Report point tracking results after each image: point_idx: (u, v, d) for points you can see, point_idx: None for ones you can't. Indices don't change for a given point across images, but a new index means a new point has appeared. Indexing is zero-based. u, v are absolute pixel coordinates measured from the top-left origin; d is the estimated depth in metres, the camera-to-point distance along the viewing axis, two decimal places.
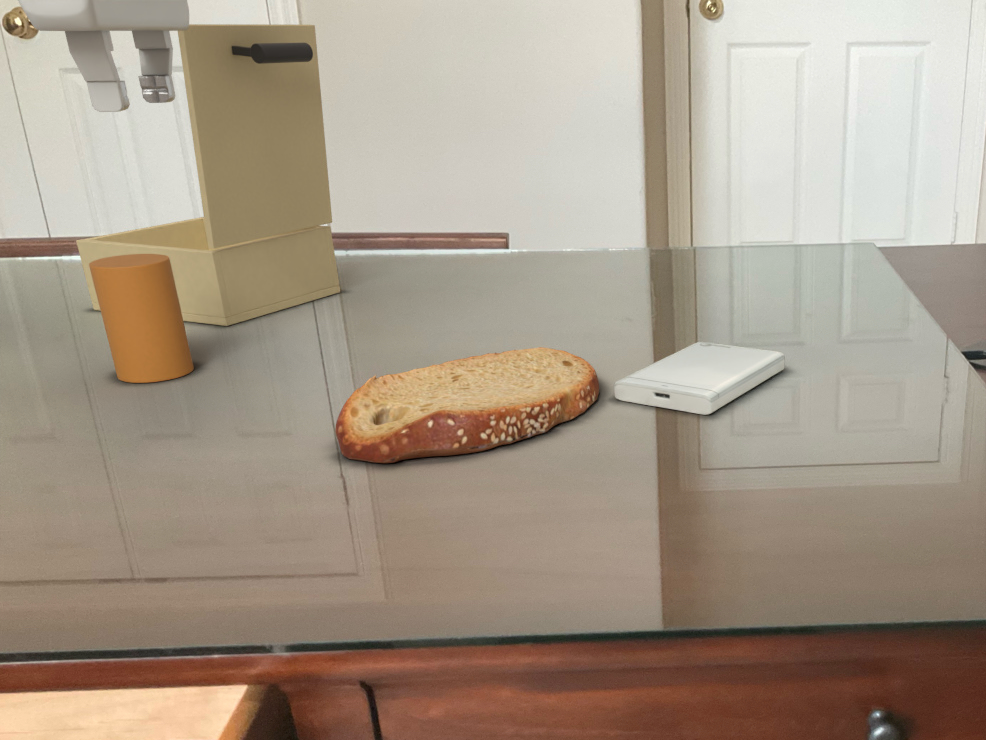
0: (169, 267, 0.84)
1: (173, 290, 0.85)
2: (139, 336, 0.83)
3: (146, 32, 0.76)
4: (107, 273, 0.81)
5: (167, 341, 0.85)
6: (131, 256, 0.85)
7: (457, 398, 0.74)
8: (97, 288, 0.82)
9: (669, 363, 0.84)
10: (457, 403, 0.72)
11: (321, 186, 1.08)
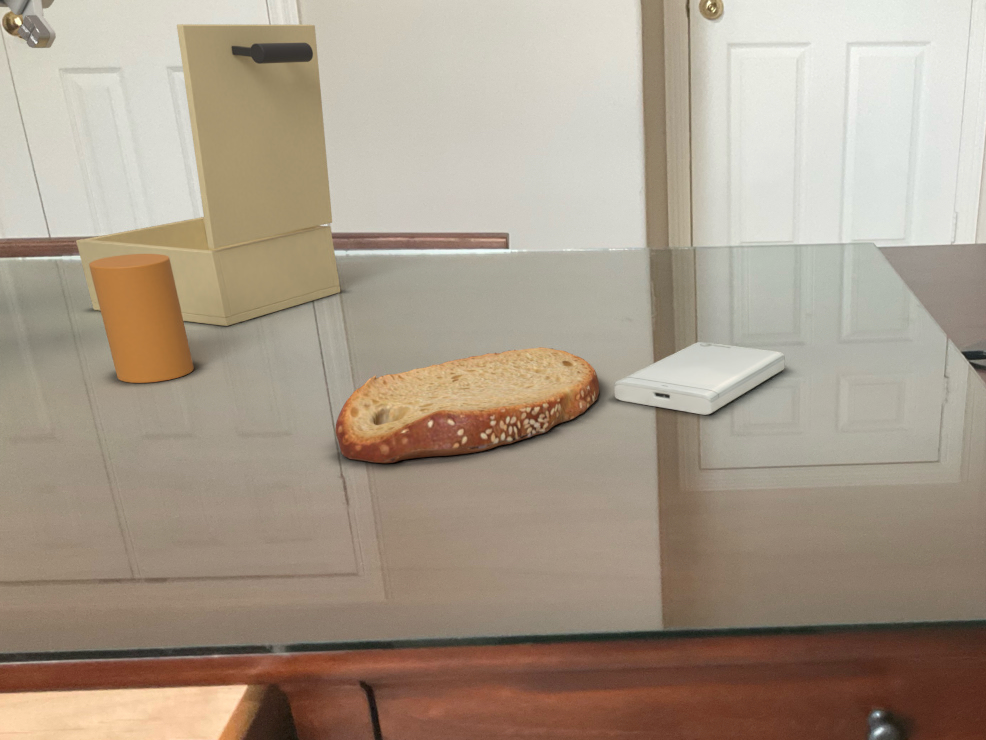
0: (169, 267, 0.84)
1: (173, 290, 0.85)
2: (139, 336, 0.83)
3: None
4: (107, 273, 0.81)
5: (167, 341, 0.85)
6: (131, 256, 0.85)
7: (457, 398, 0.74)
8: (97, 288, 0.82)
9: (669, 363, 0.84)
10: (457, 403, 0.72)
11: (321, 186, 1.08)
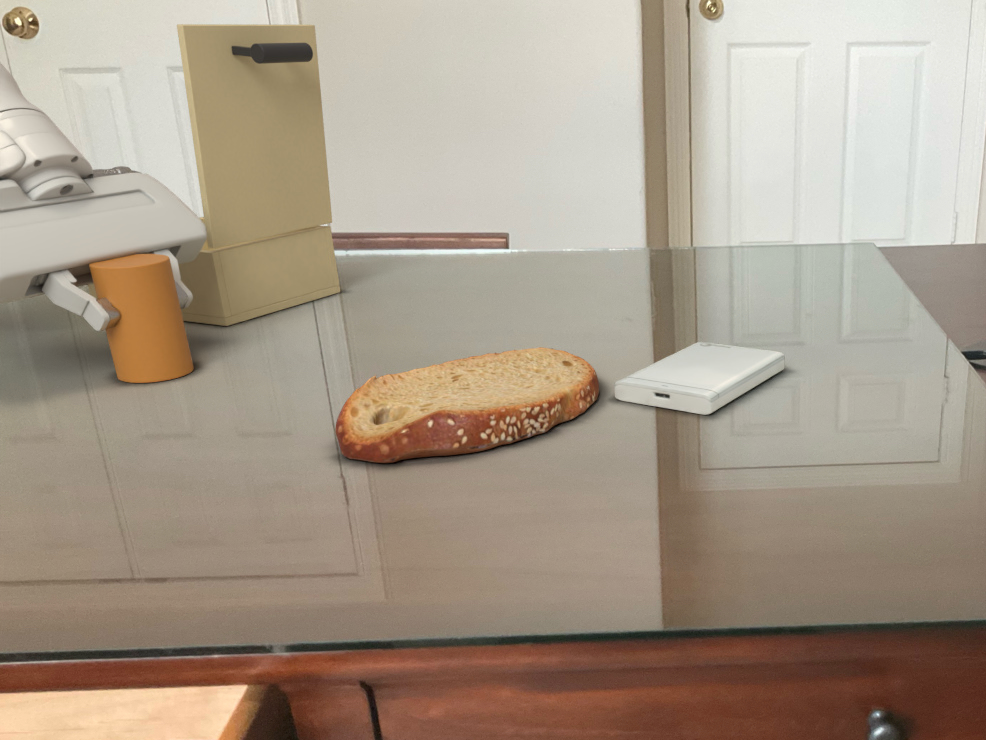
0: (169, 267, 0.84)
1: (173, 290, 0.85)
2: (139, 336, 0.83)
3: None
4: (107, 273, 0.81)
5: (167, 341, 0.85)
6: (131, 256, 0.85)
7: (457, 398, 0.74)
8: (97, 288, 0.82)
9: (669, 363, 0.84)
10: (457, 403, 0.73)
11: (321, 186, 1.08)
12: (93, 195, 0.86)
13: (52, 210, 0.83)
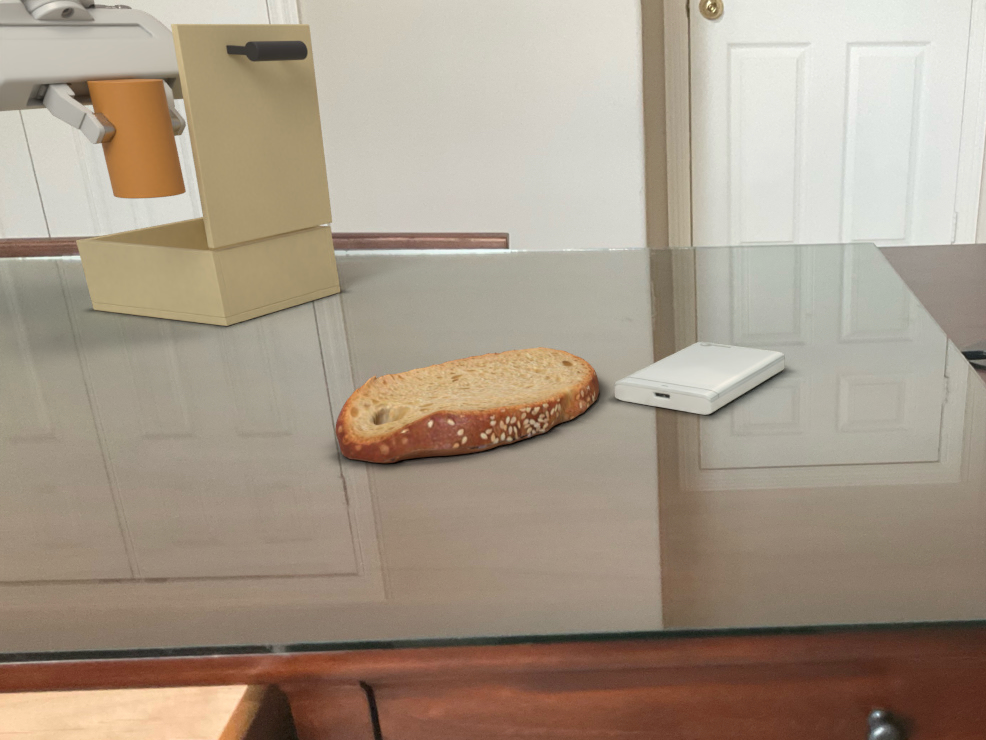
0: (162, 88, 0.90)
1: (166, 111, 0.90)
2: (132, 152, 0.89)
3: None
4: (103, 87, 0.87)
5: (159, 158, 0.90)
6: (128, 79, 0.90)
7: (457, 398, 0.74)
8: (94, 104, 0.88)
9: (669, 363, 0.84)
10: (457, 403, 0.73)
11: (320, 186, 1.08)
12: (93, 23, 0.91)
13: (54, 30, 0.88)
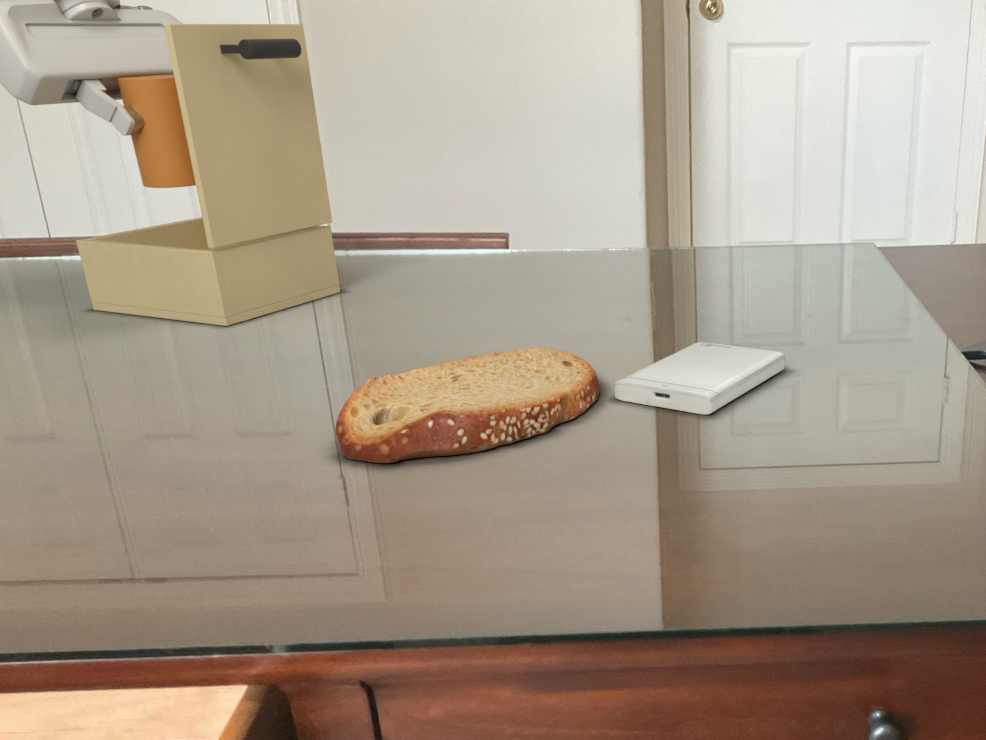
0: None
1: None
2: (159, 144, 0.95)
3: None
4: (132, 84, 0.93)
5: (184, 150, 0.96)
6: (155, 75, 0.96)
7: (457, 398, 0.74)
8: (124, 99, 0.94)
9: (669, 363, 0.84)
10: (457, 403, 0.73)
11: (319, 185, 1.08)
12: (120, 22, 0.97)
13: (85, 29, 0.94)
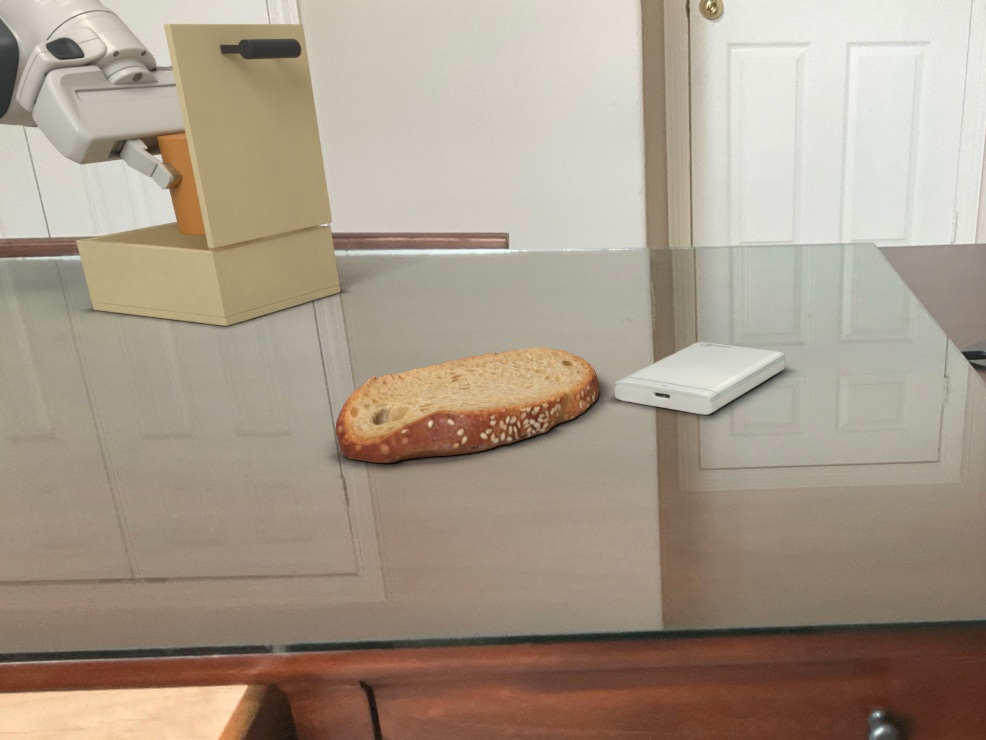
0: None
1: None
2: (195, 196, 1.04)
3: None
4: (171, 143, 1.02)
5: None
6: None
7: (457, 398, 0.74)
8: (163, 156, 1.03)
9: (669, 363, 0.84)
10: (457, 403, 0.73)
11: (319, 185, 1.08)
12: (157, 84, 1.06)
13: (126, 92, 1.03)
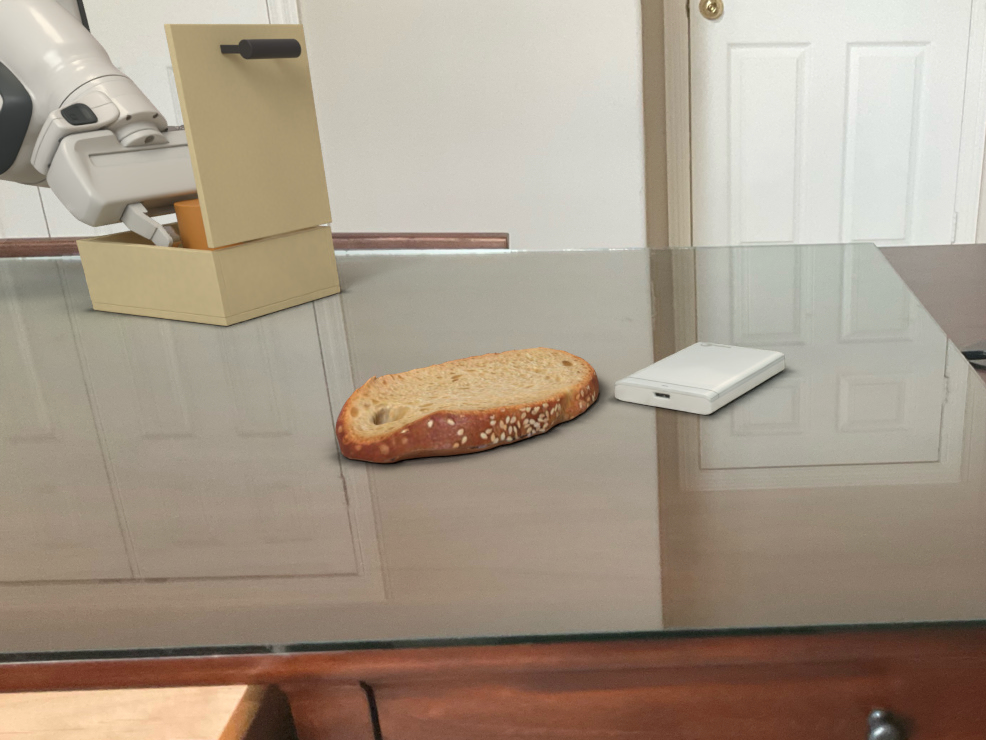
0: None
1: None
2: None
3: None
4: (187, 210, 1.05)
5: None
6: None
7: (457, 398, 0.74)
8: (179, 222, 1.06)
9: (669, 363, 0.84)
10: (457, 403, 0.73)
11: (319, 185, 1.08)
12: (168, 145, 1.08)
13: (138, 155, 1.05)
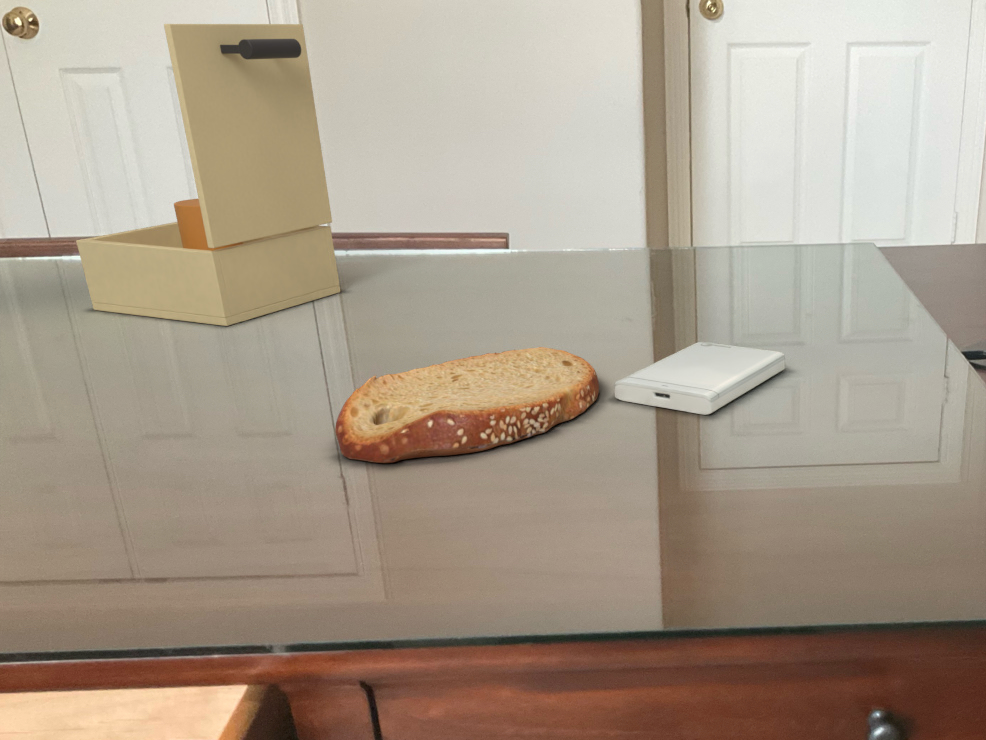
0: None
1: None
2: None
3: None
4: (187, 210, 1.05)
5: None
6: None
7: (457, 398, 0.74)
8: (179, 222, 1.06)
9: (669, 363, 0.84)
10: (457, 403, 0.73)
11: (319, 185, 1.08)
12: None
13: None
